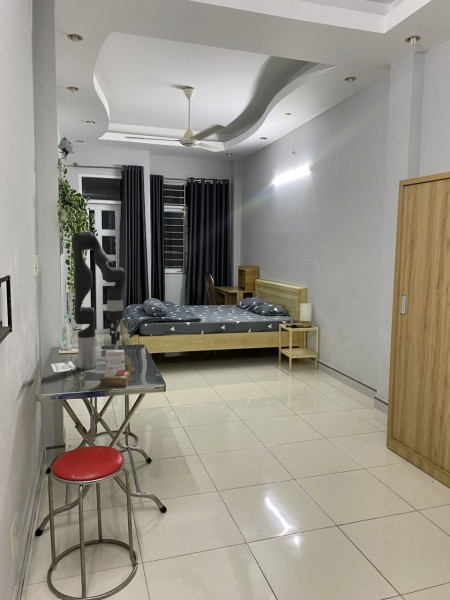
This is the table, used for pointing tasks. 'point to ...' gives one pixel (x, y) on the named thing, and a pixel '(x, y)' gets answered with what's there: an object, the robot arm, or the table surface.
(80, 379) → the table surface
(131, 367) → the ceramic model
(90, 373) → the table surface
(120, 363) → the ink box
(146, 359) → the table surface
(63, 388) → the table surface
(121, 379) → the base
